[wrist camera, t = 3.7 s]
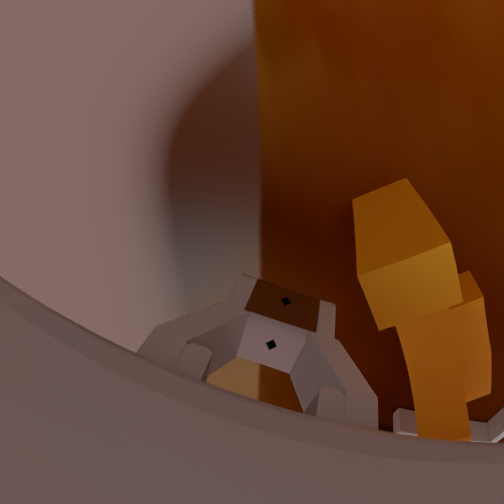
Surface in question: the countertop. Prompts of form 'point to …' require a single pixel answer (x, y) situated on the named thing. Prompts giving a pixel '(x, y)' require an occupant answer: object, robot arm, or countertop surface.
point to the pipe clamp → (424, 306)
